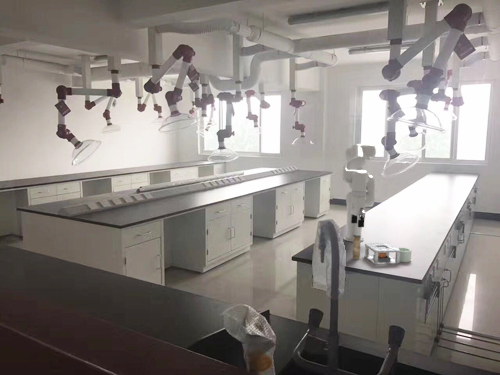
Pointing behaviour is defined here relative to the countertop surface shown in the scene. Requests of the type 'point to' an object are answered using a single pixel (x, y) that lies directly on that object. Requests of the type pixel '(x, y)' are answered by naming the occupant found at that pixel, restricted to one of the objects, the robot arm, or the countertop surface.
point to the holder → (405, 255)
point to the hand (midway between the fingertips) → (357, 225)
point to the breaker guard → (376, 250)
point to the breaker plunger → (382, 255)
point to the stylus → (356, 246)
